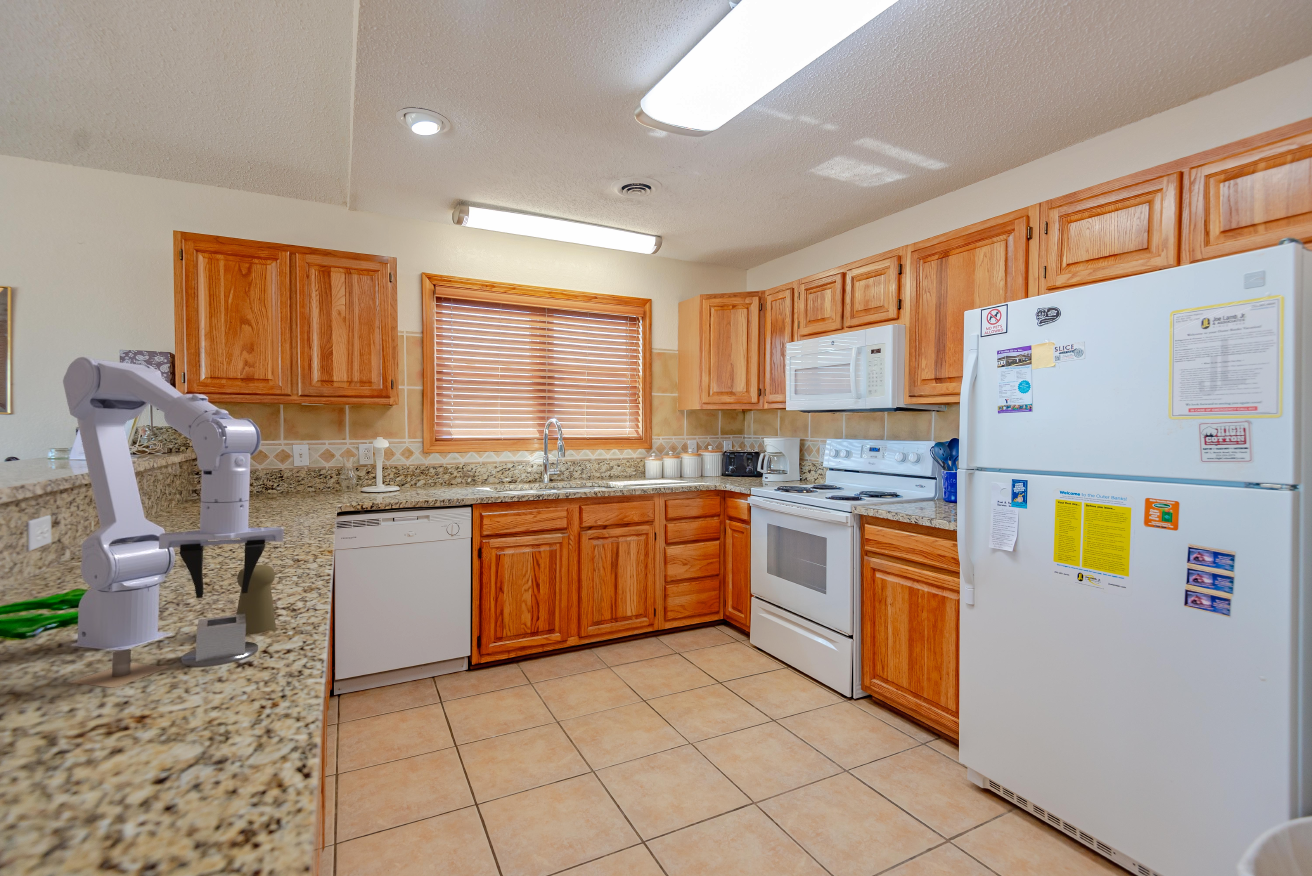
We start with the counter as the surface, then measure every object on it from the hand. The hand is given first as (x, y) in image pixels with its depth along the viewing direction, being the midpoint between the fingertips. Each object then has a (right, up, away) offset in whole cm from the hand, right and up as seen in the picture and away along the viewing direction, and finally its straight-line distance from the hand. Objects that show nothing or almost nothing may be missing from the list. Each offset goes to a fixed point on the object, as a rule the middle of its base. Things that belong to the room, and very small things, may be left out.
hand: (222, 594), depth 86 cm
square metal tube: (0, -8, 0) cm, 8 cm away
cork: (-3, -10, +12) cm, 15 cm away
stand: (-8, -9, -8) cm, 14 cm away
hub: (0, -9, 0) cm, 9 cm away
